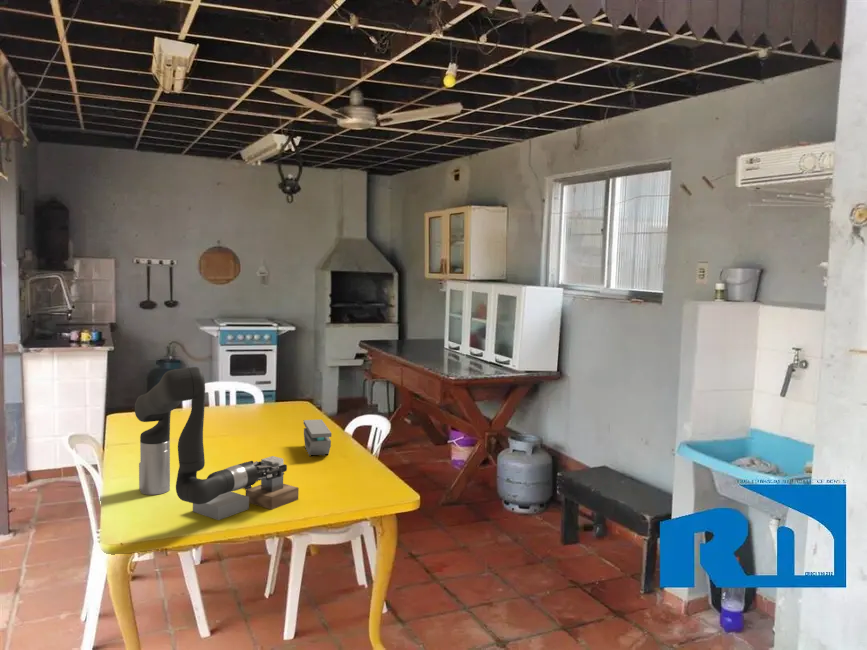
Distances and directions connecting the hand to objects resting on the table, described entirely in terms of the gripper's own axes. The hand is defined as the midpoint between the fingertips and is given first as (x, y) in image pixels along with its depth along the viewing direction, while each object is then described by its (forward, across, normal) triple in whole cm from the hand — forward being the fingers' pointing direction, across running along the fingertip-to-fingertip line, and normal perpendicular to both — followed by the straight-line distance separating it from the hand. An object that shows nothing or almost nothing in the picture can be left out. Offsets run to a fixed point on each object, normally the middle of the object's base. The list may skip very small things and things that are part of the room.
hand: (276, 465), depth 225 cm
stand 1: (-18, +6, +12) cm, 22 cm away
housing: (-2, 0, +8) cm, 8 cm away
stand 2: (-2, 0, +12) cm, 12 cm away
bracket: (+9, +20, +12) cm, 25 cm away
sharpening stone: (+51, +29, +12) cm, 60 cm away
